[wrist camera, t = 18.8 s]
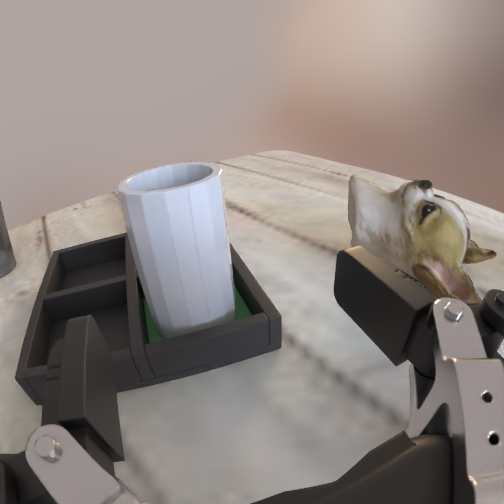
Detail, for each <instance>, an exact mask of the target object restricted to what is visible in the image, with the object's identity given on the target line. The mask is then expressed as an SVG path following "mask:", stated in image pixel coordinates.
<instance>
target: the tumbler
mask: <svg viewBox="0 0 504 504" xmlns="http://www.w3.org/2000/svg"><path fill="white" fill-rule="evenodd" d="M117 191H118V196H119V200H120V205H121V209H122V213H123V218H124V222H125V226H126V230H127V234H128V238H129V242H130V246H131V250H132V253H133V257H134V261H135V264H136V268H137V271H138V275H139V278H140V282H141V285H142V288H143V292H144V295H145V298H146V301H147V304H148V307H149V311H150V314H151V317H152V320H153V323H154V325H155V327H156V330H157V332H158V333H159V334H160V336H161V337H163V338H164V339H168V338H172V337H176V336H180V335H184V334H188V333H192V332H195V331H199V330H203V329H207V328H210V327H214V326H218V325H221V324H225V323H228V322H232V321H235V320H236V316H237V311H236V297H235V288H234V279H233V270H232V261H231V252H230V243H229V233H228V224H227V214H226V204H225V194H224V184H223V174H222V168H220V167H219V166H218V165H216V164H211V163H206V162H186V163H176V164H169V165H164V166H159V167H155V168H151V169H148V170H145V171H141V172H139V173H136V174H134V175H132V176H130V177H128V178H126V179H125V180H123V181H122V182H121V183H120V184H119V185H118V190H117Z"/></svg>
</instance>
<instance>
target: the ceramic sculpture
mask: <svg viewBox="0 0 504 504" xmlns="http://www.w3.org/2000/svg"><path fill="white" fill-rule="evenodd" d="M348 220H349V223H350V227H351V230H352V240H351V246H352V248H353V247H356V246H361V247H363V248H364V249H366V250H367V251H368V252H370V253H371V254H372V255H374V256H376V257H379V258H381V259H384V260H386V261H388V262H390V263H391V264H392V265H394V266H395V267H396V268H398V269H400V270H401V271H403V272H404V273H406V274H408V275H410V276H412V277H414V278H415V279H417V280H418V281H419V282H420V283H421V284H422V285H423V286H424V287H425V288H426V290H427V291H428V292H429V293H430V294H431V295H432V296H434V297H435V298H436V299H437V300H439V299H441V298H454V299H458V300H460V301H462V302H464V303H465V304H466V305H468V306H474V305H479V304H482V302H483V301H482V300H481V299H480V298H479V296H478V295H477V293H476V291H475V288H474V286H473V282H472V280H471V279H470V277H469V276H468V275H467V274H466V273H465V272H464V271H463V270H462V269H461V268H460V266H461V264H462V263H466V264H470V263H477V262H481V261H484V260H487V259H491V258H494V257H495V256H496V252H494V251H493V250H488V249H482V248H479V247H478V245H477V244H476V243H475V242H474V241H472V240H470V227H469V223H468V220H467V218H466V216H465V214H464V213H463V211H462V209H461V208H460V206H459V205H458V204H456V203H455V202H454V201H451V200H447V199H445V198H444V197H442V196H439V195H435V194H433V188H432V183H431V182H430V181H429V180H421V181H420V180H414V181H413V182H407V183H404V184H403V185H401V186H400V188H399V189H398V190H396V191H394V192H388V191H386V190H383V189H382V188H380V187H379V186H378V185H376V184H374V183H371V182H368V181H366V180H362V179H360V178H359V177H357V176H354V175H352V176H351V177H350V180H349V194H348Z"/></svg>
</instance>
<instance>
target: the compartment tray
mask: <svg viewBox="0 0 504 504" xmlns="http://www.w3.org/2000/svg"><path fill="white" fill-rule="evenodd" d="M229 243H230V242H229ZM230 252H231V261H232V270H233V279H234V288H235V297H236V311H237V316H236V320H235V321H232V322H228V323H225V324H221V325H218V326H214V327H210V328H207V329H203V330H199V331H195V332H192V333H188V334H184V335H180V336H176V337H172V338H168V339H164V338H163V337H161V336H160V334H159V333H158V332H157V330H156V327H155V325H154V323H153V320H152V317H151V314H150V311H149V307H148V304H147V301H146V298H145V295H144V292H143V288H142V285H141V282H140V278H139V275H138V271H137V268H136V264H135V261H134V257H133V253H132V250H131V246H130V242H129V238H128V234H127V233H124V234H120V235H115V236H111V237H107V238H103V239H99V240H95V241H92V242H88V243H84V244H80V245H76V246H72V247H69V248H65V249H61V250H57V251H54V252H53V255H52V257H51V260H50V262H49V265H48V267H47V270H46V273H45V275H44V278H43V281H42V284H41V286H40V289H39V292H38V295H37V298H36V301H35V304H34V307H33V311H32V314H31V317H30V320H29V324H28V327H27V331H26V334H25V338H24V342H23V346H22V350H21V354H20V358H19V362H18V367H17V371H16V376H15V379H16V381H17V382H18V383H19V385H20V386H21V387H22V388H23V390H24V391H25V392H26V393H27V395H28V396H29V397H30V398H31V399H32V400H33V402H34V403H35V404H36V405H43V398H44V388H45V382H46V372H47V370H48V368H47V365H48V358H49V353H50V351H51V349H52V348H53V346H54V344H55V342H56V341H57V340H58V339H63V338H65V331H66V325H67V321H68V320H69V319H74V318H78V317H82V316H87V315H92V316H93V318H94V320H95V322H96V324H97V326H98V328H99V330H100V333H101V335H102V337H103V339H104V341H105V343H106V345H107V347H108V349H109V351H110V353H111V356H112V359H113V363H114V369H115V382H116V392H121V391H126V390H131V389H135V388H140V387H144V386H149V385H153V384H157V383H161V382H166V381H170V380H174V379H178V378H182V377H185V376H189V375H193V374H197V373H200V372H204V371H208V370H211V369H215V368H218V367H222V366H225V365H228V364H232V363H235V362H238V361H242V360H245V359H248V358H251V357H254V356H257V355H260V354H264V353H267V352H270V351H273V350H276V349H279V348H281V314H280V313H279V312H278V310H277V309H276V307H275V306H274V305H273V303H272V302H271V300H270V299H269V298H268V296H267V295H266V293H265V292H264V290H263V289H262V288H261V286H260V285H259V283H258V282H257V281H256V279H255V278H254V276H253V275H252V273H251V272H250V271H249V269H248V268H247V266H246V265H245V263H244V262H243V261H242V259H241V258H240V256H239V255H238V253H237V252H236V251H235V249H234V248H233V246H232V245H231V243H230Z"/></svg>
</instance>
